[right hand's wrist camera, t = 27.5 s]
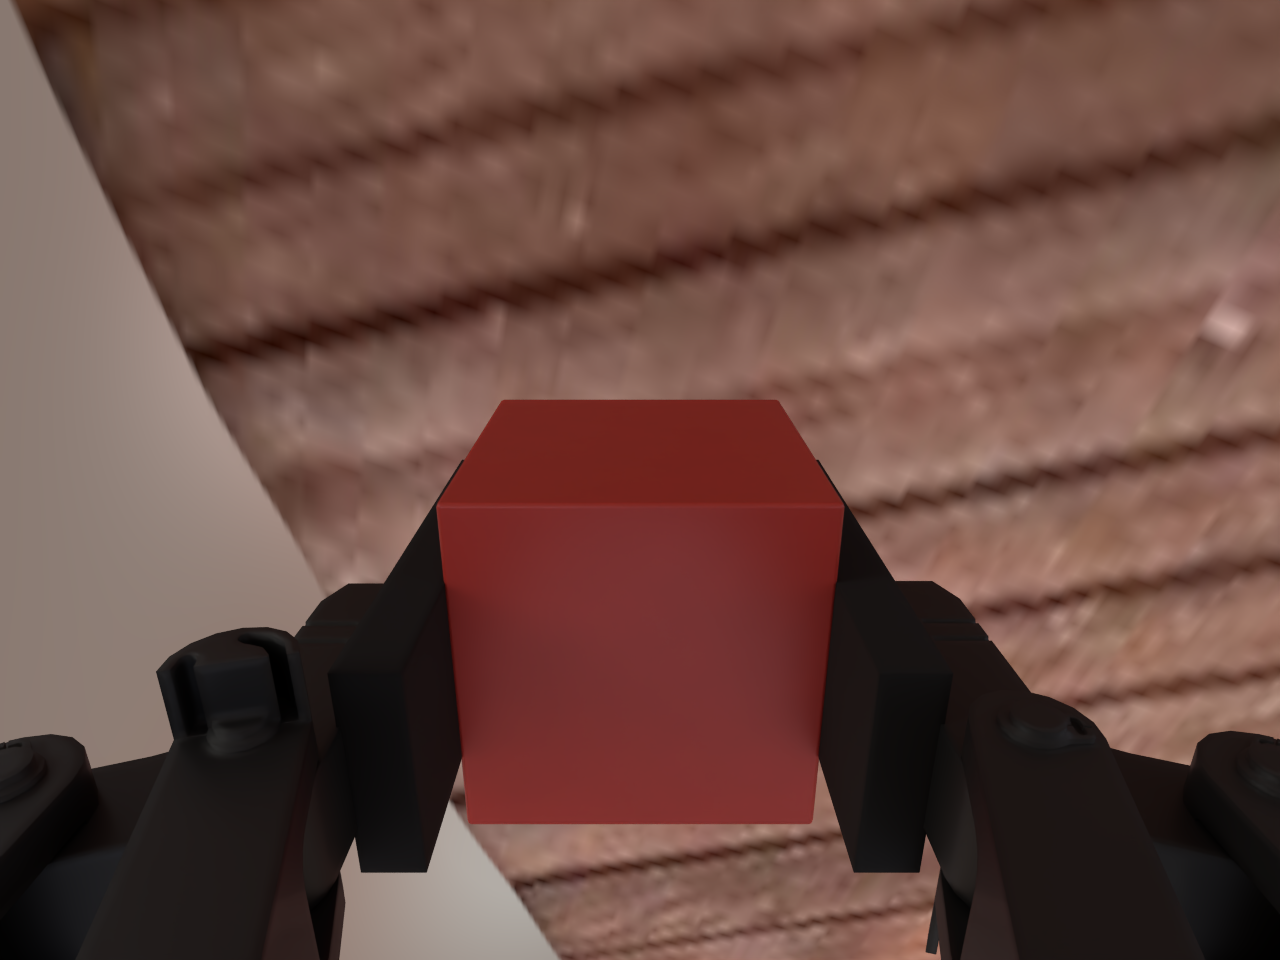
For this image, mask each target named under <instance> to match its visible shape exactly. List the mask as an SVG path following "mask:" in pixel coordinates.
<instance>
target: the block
mask: <svg viewBox="0 0 1280 960" xmlns="http://www.w3.org/2000/svg"><path fill="white" fill-rule="evenodd" d="M436 509H437V519H438V529H439V539H440V549H441V559H442V569H443V579H444V583H445V592H446V602H447V612H448V622H449V632H450V642H451V652H452V662H453V672H454V682H455V692H456V702H457V712H458V721H459V731H460V741H461V751H462V768H463V778H464V788H465V798H466V808H467V818H468V822H469V823H470V824H810V823H812V820H813V812H814V802H815V792H816V783H817V773H818V763H819V757H818V756H819V746H820V736H821V726H822V716H823V706H824V696H825V686H826V677H827V667H828V657H829V647H830V637H831V627H832V617H833V607H834V597H835V587H836V582H837V576H838V566H839V556H840V546H841V537H842V527H843V517H844V504H843V502H842V500H841V499H840V497H839V496H838V494H837V492H836V491H835V489H834V488H833V486H832V485H831V483H830V481H829V480H828V478H827V477H826V475H825V474H824V472H823V470H822V469H821V467H820V466H819V464H818V462H817V461H816V459H815V458H814V456H813V455H812V453H811V451H810V450H809V448H808V447H807V445H806V444H805V442H804V440H803V439H802V437H801V436H800V434H799V432H798V431H797V429H796V428H795V426H794V425H793V423H792V421H791V420H790V418H789V417H788V415H787V414H786V412H785V410H784V409H783V407H782V406H781V404H780V402H779V401H777V400H503V401H501V403H500V404H499V406H498V408H497V409H496V411H495V412H494V414H493V416H492V417H491V419H490V420H489V422H488V424H487V425H486V427H485V428H484V430H483V431H482V433H481V435H480V436H479V438H478V439H477V441H476V443H475V444H474V446H473V447H472V449H471V451H470V452H469V454H468V455H467V457H466V459H465V460H464V462H463V463H462V465H461V467H460V468H459V470H458V471H457V473H456V474H455V476H454V478H453V479H452V481H451V482H450V484H449V486H448V487H447V489H446V490H445V492H444V494H443V495H442V497H441V498H440V500H439V502H438V503H437V506H436Z"/></svg>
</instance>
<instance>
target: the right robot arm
mask: <svg viewBox="0 0 1280 960" xmlns="http://www.w3.org/2000/svg"><path fill="white" fill-rule="evenodd" d="M816 461H817V462H818V464H819V466H820V467H821V469H822V470H823V472H824V474H825V475H826V477H827V478H828V480H829V481H830V483H831V485H832V486H833V488H834V489H835V491H836V492H837V494H838V496H839V497H840V499H841V500H842V502H843V504H844V517H843V527H842V537H841V546H840V556H839V566H838V576H837V582H836V587H835V597H834V607H833V617H832V627H831V637H830V647H829V657H828V667H827V677H826V686H825V696H824V706H823V716H822V726H821V736H820V746H819V756H818V757H819V761H820V764H821V767H822V770H823V774H824V777H825V780H826V783H827V787H828V790H829V793H830V796H831V800H832V803H833V806H834V809H835V813H836V816H837V819H838V822H839V826H840V829H841V832H842V835H843V839H844V842H845V845H846V848H847V852H848V855H849V858H850V861H851V865H852V868H853V871H854V872H865V873H919V872H920V866H921V860H922V855H923V849H924V843H925V837H926V835H927V837H928V839H929V842H930V844H931V846H932V848H933V851H934V853H935V855H936V858H937V860H938V862H939V864H940V867H941V868H940V873H939V878H938V884H937V889H936V895H935V900H934V906H933V911H932V917H931V922H930V928H929V933H928V939H927V946H926V952H927V953H932V954H936V952H937V947H938V942H939V945H940V954H941V960H1280V739H1277V740H1276V739H1274V738H1273V737H1269V736H1265V735H1260V734H1253V733H1245V732H1236V731H1226V732H1219V733H1212V734H1209V735H1207V736H1206V737H1205V738H1203V739H1202V740H1201V741H1200V742H1198V743H1197V746H1196V749H1195V753H1194V756H1193V759H1192V762H1191V765H1190V766H1189V765H1184V764H1179V763H1175V762H1170V761H1165V760H1160V759H1155V758H1150V757H1146V756H1141V755H1136V754H1131V753H1127V752H1123V751H1120V750H1116V749H1112V748H1110V746H1109V744H1108V742H1107V740H1106V738H1105V737H1104V735H1103V734H1102V733H1101V731H1100V730H1099V729H1098V727H1097V726H1096V725H1095V723H1094V722H1092V721H1091V720H1090V719H1088V718H1087V717H1085V716H1084V715H1083V714H1081V713H1080V712H1079V711H1077V710H1076V709H1074V708H1073V707H1070V706H1068V705H1066V704H1064V703H1061V702H1059V701H1057V700H1055V699H1052V698H1050V697H1047V696H1043V695H1039V694H1034V693H1031V692H1030V691H1029V689H1028V688H1027V687H1026V685H1025V684H1024V683H1023V681H1022V680H1021V679H1020V677H1019V676H1018V675H1017V673H1016V672H1015V671H1014V669H1013V668H1012V667H1011V666H1010V664H1009V663H1008V662H1007V660H1006V659H1005V658H1004V656H1003V655H1002V654H1001V652H1000V651H999V650H998V648H997V647H996V646H995V644H994V643H993V642H992V641H989V640H988V635H987V634H986V633H985V631H984V630H983V629H982V627H981V626H980V625H979V623H975V618H974V617H973V616H972V614H971V613H970V612H969V610H968V609H967V608H966V606H965V605H964V604H963V602H962V601H961V600H960V599H959V598H958V597H956V596H955V595H953V594H952V593H950V592H948V591H947V590H945V589H944V588H942V587H941V586H939V585H938V584H936V583H934V582H933V581H895V580H894V579H893V577H892V575H891V574H890V572H889V571H888V569H887V568H886V566H885V564H884V563H883V561H882V560H881V558H880V557H879V555H878V553H877V552H876V550H875V549H874V547H873V545H872V544H871V542H870V541H869V539H868V538H867V536H866V534H865V533H864V531H863V530H862V528H861V526H860V525H859V523H858V522H857V520H856V519H855V517H854V515H853V514H852V512H851V511H850V509H849V507H848V506H847V504H846V503H845V501H844V500H843V498H842V496H841V495H840V493H839V492H838V490H837V489H836V487H835V485H834V484H833V482H832V481H831V479H830V477H829V476H828V474H827V473H826V471H825V470H824V468H823V466H822V465H821V463H820V462H819V460H816ZM463 462H464V460H462V461H461V462H460V464H459V466H458V467H457V469H456V470H455V472H454V474H453V475H452V477H451V478H450V480H449V481H448V483H447V485H446V486H445V488H444V489H443V491H442V493H441V494H440V496H439V497H438V499H437V500H436V502H435V504H434V505H433V507H432V508H431V510H430V512H429V513H428V515H427V516H426V518H425V519H424V521H423V523H422V524H421V526H420V527H419V529H418V530H417V532H416V534H415V535H414V537H413V538H412V540H411V542H410V543H409V545H408V546H407V548H406V549H405V551H404V553H403V554H402V556H401V557H400V559H399V561H398V562H397V564H396V565H395V567H394V568H393V570H392V572H391V573H390V575H389V576H388V578H387V580H386V581H385V583H384V584H347V585H346V586H344V587H343V588H341V589H339V590H338V591H336V592H335V593H333V594H332V595H330V596H329V597H327V598H326V599H324V600H322V601H321V602H320V604H319V605H318V606H317V608H316V609H315V610H314V612H313V613H312V614H311V616H310V617H309V618H308V620H307V621H306V625H305V626H302V627H301V629H300V630H299V631H298V633H297V634H296V635H295V637H293V636H292V635H290V634H289V633H288V632H286V631H282V630H277V629H273V628H269V627H257V628H240V629H236V630H231V631H226V632H221V633H216V634H214V635H211V636H209V637H206V638H204V639H201V640H198V641H196V642H193V643H191V644H189V645H187V646H186V647H184V648H183V649H181V650H179V651H178V652H176V653H175V654H173V655H171V656H170V657H169V658H168V659H167V660H166V661H165V662H164V663H163V664H162V666H161V667H160V668H159V669H158V670H157V671H156V673H157V677H158V681H159V685H160V688H161V692H162V696H163V700H164V703H165V707H166V711H167V715H168V719H169V722H170V726H171V730H172V734H173V737H174V741H173V743H172V746H171V748H170V750H169V752H166V753H163V754H159V755H155V756H152V757H147V758H142V759H137V760H132V761H127V762H123V763H118V764H113V765H108V766H103V767H98V768H93V769H91V766H90V763H89V760H88V757H87V754H86V750H85V747H84V746H83V745H82V744H80V743H79V742H78V741H77V740H75V739H74V738H73V737H67V736H60V735H53V734H49V735H41V736H32V737H24V738H19V739H15V740H10V741H9V742H7V743H5V742H3V743H1V744H0V960H339V956H340V947H341V938H342V929H343V920H344V911H345V897H344V890H343V884H342V879H341V873H340V870H341V867H342V865H343V863H344V861H345V858H346V856H347V854H348V851H349V849H350V847H351V844H352V842H353V840H354V837H355V840H356V846H357V851H358V857H359V863H360V869H361V872H363V873H368V872H370V873H380V872H381V873H382V872H383V873H386V872H387V873H391V872H392V873H393V872H394V873H396V872H399V873H401V872H402V873H403V872H404V873H408V872H410V873H413V872H414V873H415V872H417V873H420V872H421V873H423V872H424V873H425V872H427V869H428V866H429V863H430V860H431V856H432V853H433V850H434V847H435V844H436V840H437V837H438V834H439V830H440V827H441V824H442V821H443V818H444V814H445V811H446V808H447V804H448V801H449V798H450V795H451V792H452V788H453V785H454V782H455V779H456V775H457V772H458V769H459V765H460V762H461V759H462V751H461V741H460V731H459V721H458V712H457V702H456V692H455V682H454V672H453V662H452V652H451V642H450V632H449V622H448V612H447V602H446V592H445V583H444V579H443V569H442V559H441V549H440V539H439V529H438V519H437V509H436V506H437V503H438V502H439V500H440V498H441V497H442V495H443V494H444V492H445V490H446V489H447V487H448V486H449V484H450V482H451V481H452V479H453V478H454V476H455V474H456V473H457V471H458V470H459V468H460V467H461V465H462V463H463Z"/></svg>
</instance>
